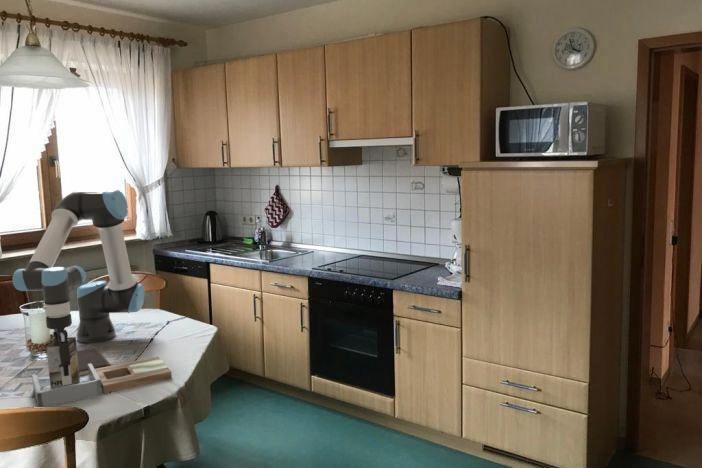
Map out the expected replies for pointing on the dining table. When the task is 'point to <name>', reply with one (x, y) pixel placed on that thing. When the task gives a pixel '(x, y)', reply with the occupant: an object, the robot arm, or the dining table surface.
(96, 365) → the hardcover book
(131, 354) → the dining table surface
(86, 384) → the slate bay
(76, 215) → the robot arm
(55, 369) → the coffee box
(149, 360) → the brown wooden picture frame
